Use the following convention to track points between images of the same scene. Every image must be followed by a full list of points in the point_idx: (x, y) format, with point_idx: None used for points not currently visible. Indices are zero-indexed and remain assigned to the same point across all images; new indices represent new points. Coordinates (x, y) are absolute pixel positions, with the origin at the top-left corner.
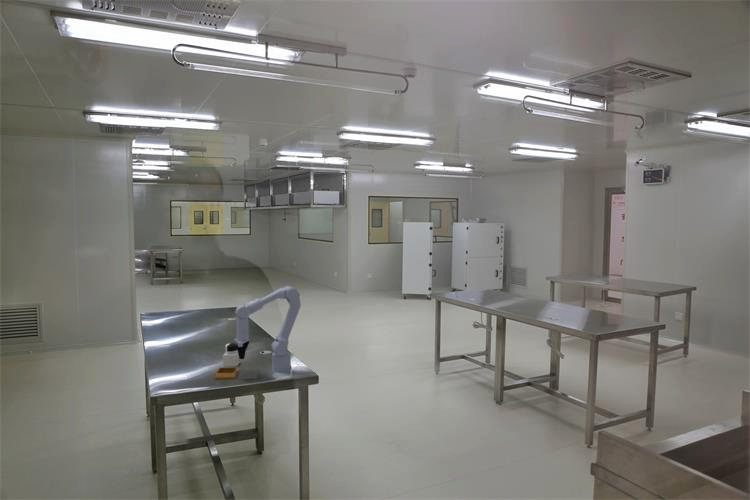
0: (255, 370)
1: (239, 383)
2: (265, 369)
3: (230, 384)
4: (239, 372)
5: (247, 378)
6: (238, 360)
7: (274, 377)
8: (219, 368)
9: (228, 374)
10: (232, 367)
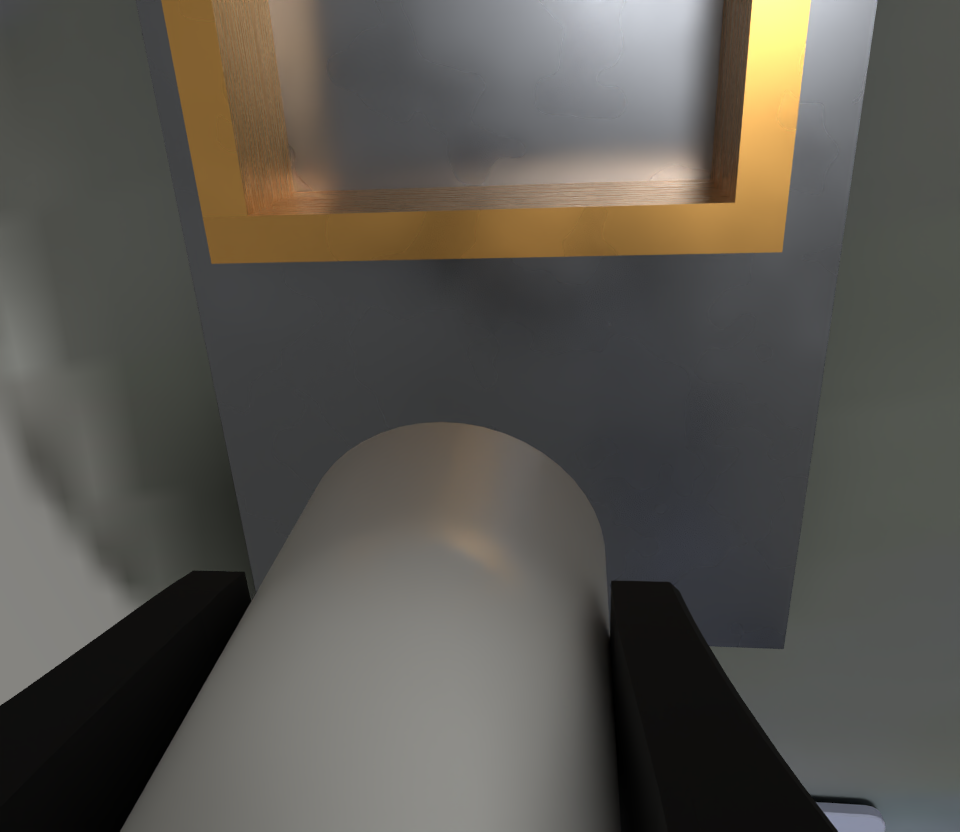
0: (784, 578)
1: (107, 347)
2: (937, 701)
3: (19, 175)
4: (694, 255)
5: (264, 488)
6: (395, 442)
7: None
8: None
9: (187, 69)
10: (772, 57)
